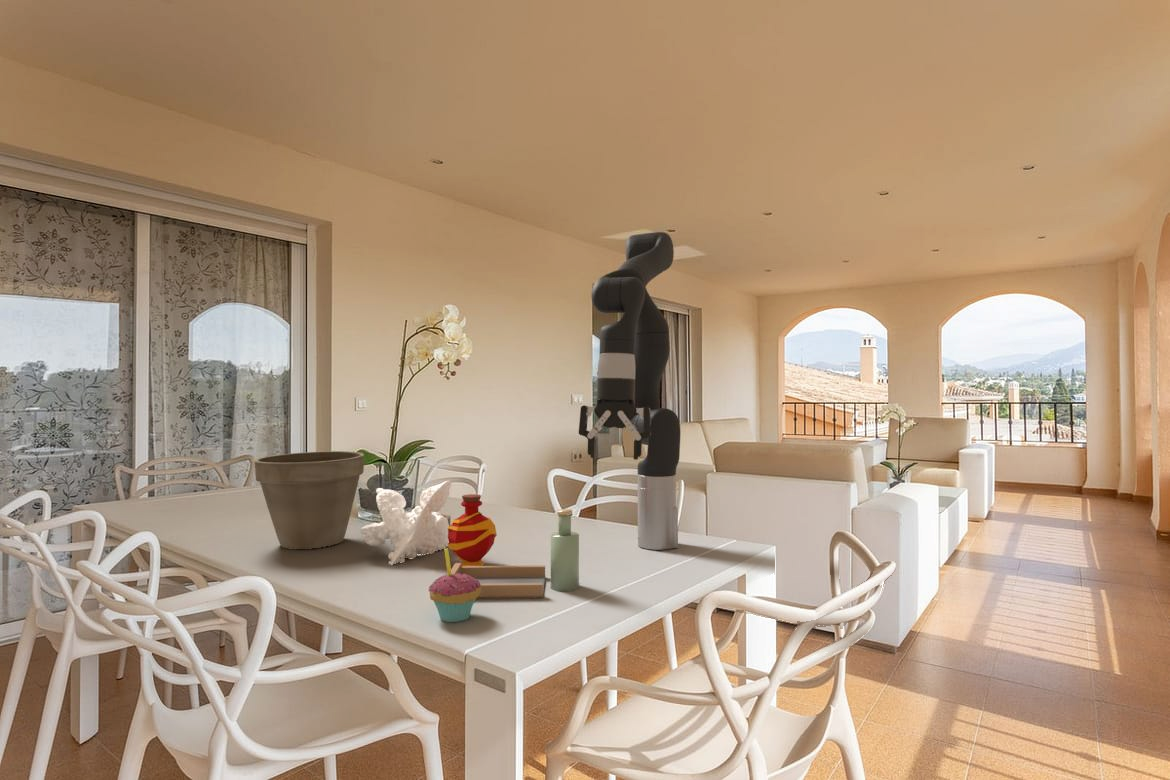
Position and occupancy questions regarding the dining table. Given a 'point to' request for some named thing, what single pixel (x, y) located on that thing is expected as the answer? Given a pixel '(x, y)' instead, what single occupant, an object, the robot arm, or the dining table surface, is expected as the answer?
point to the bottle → (564, 554)
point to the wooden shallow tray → (506, 580)
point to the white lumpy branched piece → (410, 523)
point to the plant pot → (310, 495)
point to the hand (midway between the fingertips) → (614, 458)
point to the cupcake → (454, 594)
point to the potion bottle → (471, 533)
